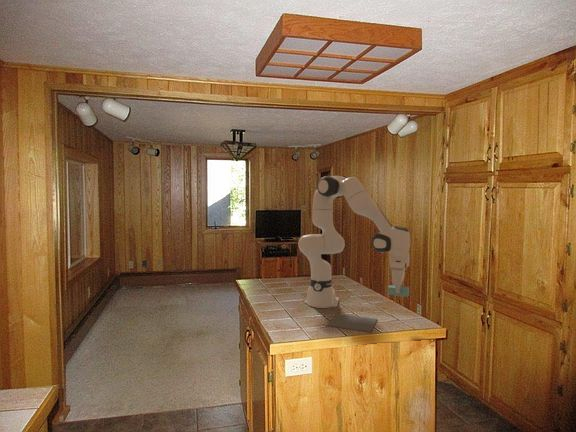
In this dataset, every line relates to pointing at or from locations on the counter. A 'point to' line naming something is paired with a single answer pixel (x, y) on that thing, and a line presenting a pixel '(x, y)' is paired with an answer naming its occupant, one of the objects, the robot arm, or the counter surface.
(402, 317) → the counter surface
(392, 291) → the teal rectangular block
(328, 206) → the robot arm
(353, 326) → the mat
